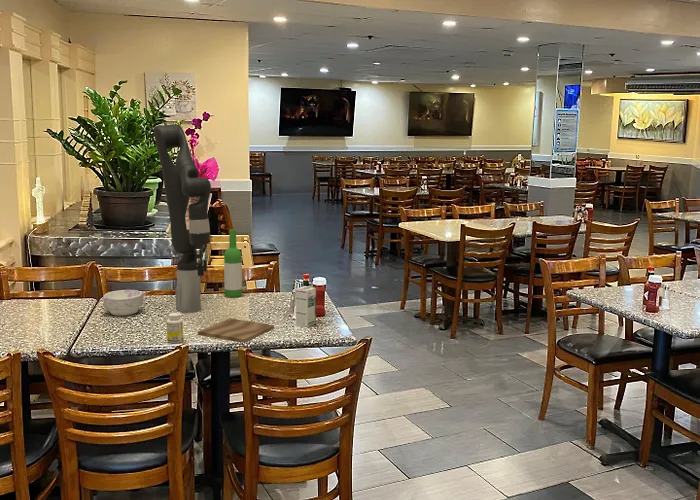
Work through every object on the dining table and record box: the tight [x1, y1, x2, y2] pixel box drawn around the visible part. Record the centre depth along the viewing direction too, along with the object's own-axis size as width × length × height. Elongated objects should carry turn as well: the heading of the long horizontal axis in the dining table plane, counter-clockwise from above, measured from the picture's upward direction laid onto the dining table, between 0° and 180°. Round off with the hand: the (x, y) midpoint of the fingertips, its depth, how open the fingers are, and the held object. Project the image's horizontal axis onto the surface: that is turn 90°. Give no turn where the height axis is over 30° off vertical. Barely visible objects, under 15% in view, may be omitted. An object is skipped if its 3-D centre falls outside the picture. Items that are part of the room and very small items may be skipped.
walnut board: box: [197, 317, 275, 343], centre depth 249 cm, size 20×20×1 cm
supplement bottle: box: [166, 312, 184, 344], centre depth 235 cm, size 5×5×10 cm
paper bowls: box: [102, 289, 144, 317], centre depth 271 cm, size 15×15×8 cm
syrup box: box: [294, 285, 317, 328], centre depth 258 cm, size 6×6×14 cm
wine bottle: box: [223, 228, 243, 298], centre depth 300 cm, size 8×8×30 cm
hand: (202, 273), depth 256 cm, fingers open, 8 cm apart
